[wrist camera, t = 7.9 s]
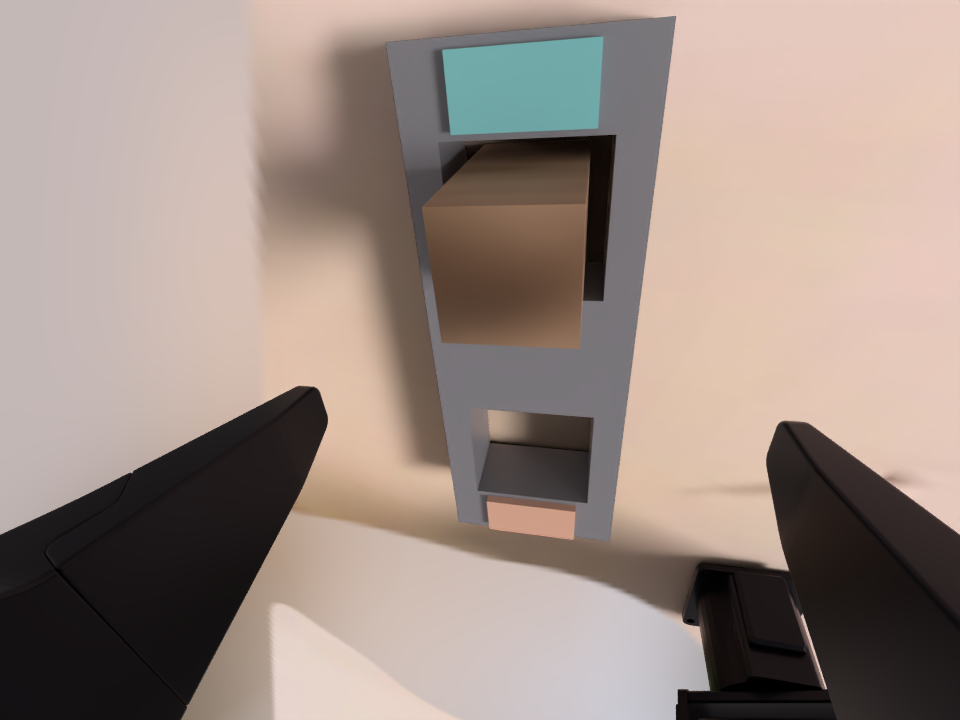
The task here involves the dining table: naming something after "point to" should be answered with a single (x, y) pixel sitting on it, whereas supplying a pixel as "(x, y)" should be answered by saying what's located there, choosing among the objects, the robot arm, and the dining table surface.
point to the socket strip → (607, 286)
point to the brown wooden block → (512, 245)
